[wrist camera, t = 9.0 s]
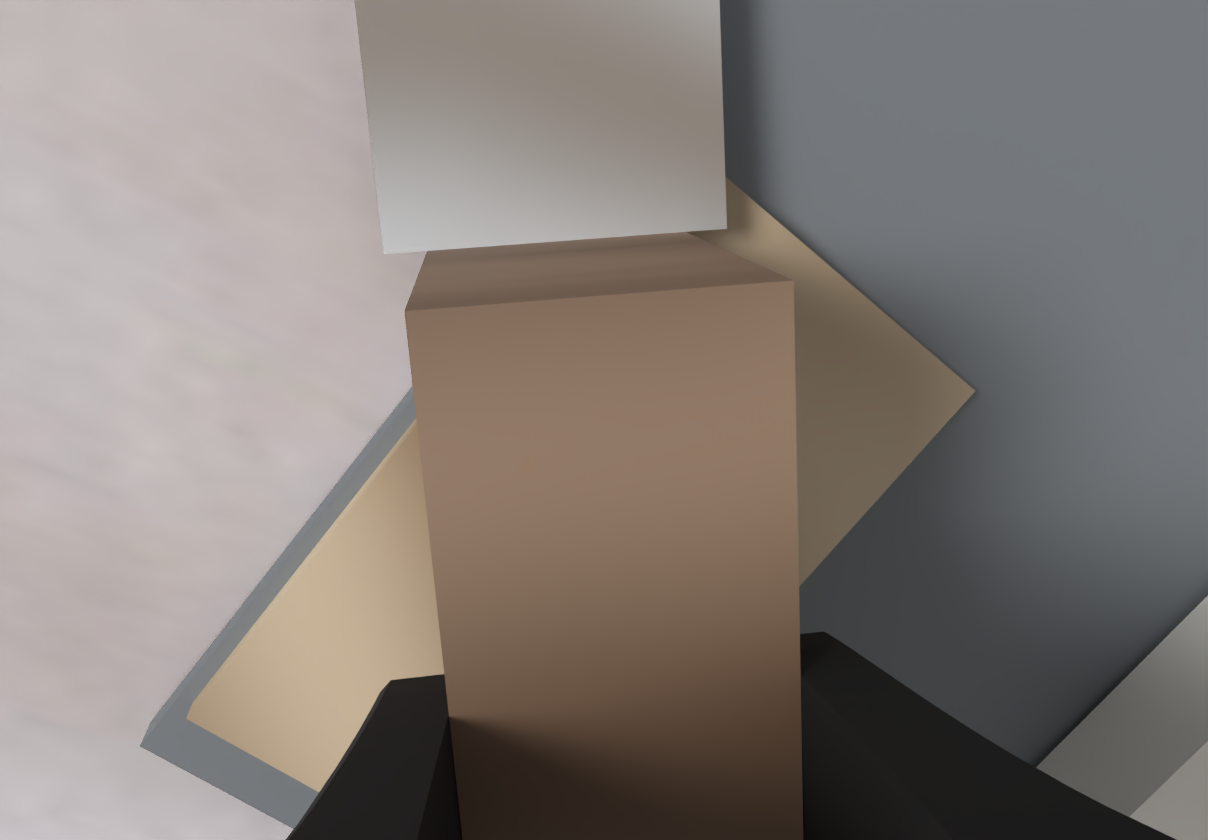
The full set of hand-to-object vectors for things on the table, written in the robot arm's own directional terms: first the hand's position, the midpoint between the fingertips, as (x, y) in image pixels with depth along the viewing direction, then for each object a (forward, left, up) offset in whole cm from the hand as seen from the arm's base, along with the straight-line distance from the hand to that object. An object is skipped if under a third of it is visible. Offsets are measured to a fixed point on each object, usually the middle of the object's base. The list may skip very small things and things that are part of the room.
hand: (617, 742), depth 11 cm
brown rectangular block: (-1, -1, -4) cm, 4 cm away
